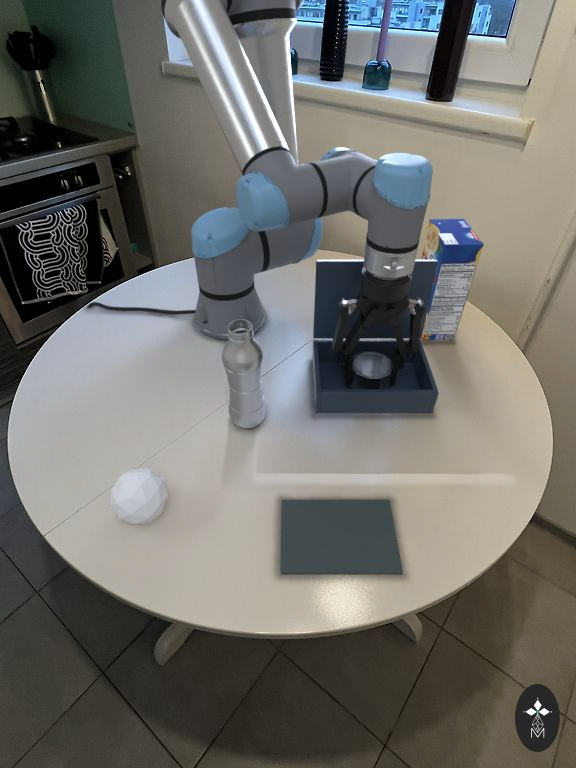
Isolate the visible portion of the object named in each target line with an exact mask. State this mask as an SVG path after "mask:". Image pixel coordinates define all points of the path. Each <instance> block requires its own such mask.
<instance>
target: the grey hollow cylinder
mask: <svg viewBox="0 0 576 768" xmlns="http://www.w3.org/2000/svg"><path fill="white" fill-rule="evenodd" d="M392 372H393V365H392V361H391V360H390V359H389V358H388V357H387V356H385V355H384V354H381V353H378V352H374V351H364V352H361V353H359V354H356V355H355V356H354V359H353V367H352V375H351V382H350V387H351V388H352V390H388V388H389V386H390V381H391V377H392Z"/></svg>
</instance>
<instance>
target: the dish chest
mask: <svg viewBox="0 0 576 768" xmlns="http://www.w3.org/2000/svg"><path fill="white" fill-rule="evenodd" d="M332 340H333V339H312V354H311V363H312V364H311V365H312V380H313V381H312V382H313V398H314V413H315V414H433V412H434V410H435V407H436V403H437V400H438V397H439V394H440V392H439V389H438V386H437V382H436V380H435V377H434V374H433V372H432V368H431V365H430V363H429V360H428V357H427V353H426V351H425V349H424V345H423V342H422V341H421V339H420V340H419V352H418V353H417V354H412V353H410V354H408V359H406V360H405V363H404V367H403V368H402V369H398V371H397V376H396V380H395V385H390V386H389V388H388V390H352V388H351V387H350V385H346V381H345V369H342V368H341V354H334V353H333V349H332ZM344 341H345V339H343V342H344ZM343 342H342V343H343ZM404 343H405V344H407V343H409V339H404ZM393 348H398V345H397V342H396V339H360V340H359V341H358V343H357V344H356V346H355V348H354V349H353V357H354V356H355V355H356V354H359V353H361V352H364V351H374V352H378V353H381V354H384V355H385V356H387V357H388V358H389V359H390V360H391V358H392V353H393Z"/></svg>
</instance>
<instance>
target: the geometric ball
mask: <svg viewBox="0 0 576 768" xmlns="http://www.w3.org/2000/svg"><path fill="white" fill-rule="evenodd" d="M168 497H169V492H168V486H167V484H166V481H165V480H164V478H163V477H162V476H161V475H159V474H158V473H157V472H155V471H154V470H152V469H151V468H149V467H145V468H144V467H143V468H142V467H141V468H130V469H129V470H127V471H125V472H124V473H123V474H122V475H120V476H119V477H118V478H117V479H116V480H115V482H114V484H113V485H112V487H111V489H110V501H109V506H110V508H111V510H112V511H113V512H114V513H115V515H116V516H117V518H118V519H119V520H120V521H123V522H125V523H127V524H129V525H148V524H150V522H152V521H153V520H154V519H156V518H157V517H159V516H160V515H161V514H163V511H164V509H165V507H166V503H167V500H168Z"/></svg>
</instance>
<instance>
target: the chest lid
mask: <svg viewBox="0 0 576 768" xmlns="http://www.w3.org/2000/svg"><path fill="white" fill-rule="evenodd" d="M363 261H364V259H316V260H315V275H314V301H313V303H314V305H313V325H312V326H313V329H312V339H333V336H334V333H335V329H336V325H337V321H338V317H339V314H340V305H339V300H340V299H341V298H345V299H346V301H347V300H353V299H356V297H357V295H358V294H359V292H360V285H361V277H362V269H363V267H364V265H363ZM437 264H438V261H437V260H421V259H416V260H415V265H414V269H413V271H412V280H411V284H410V289H409V294H408V299H412V300H416V299H417V298H422V300H423V303H424V305H425V308H426V309H425V311H424V313H423V315H422V317H421V326H420V339H421V338H422V334H423V329H424V324H425V320H426V315H427V310H428V306H429V301H430V296H431V292H432V287H433V282H434V278H435V273H436V268H437ZM359 314H360V311H359V309H358V308H357V307H356V308H354V309H353V312H352V314H351V315H349V320H348V324H347V328H346V331H345V335H344V339H346V338H347V336H348V334H349V333H350V331H351V329H352V328H353V326H354V324H355V323H356V321H357V320H358V318H359ZM397 318H398V322H399V325H400V329H401V332H402V336H403V339H409V332H410V311H409V307H408V308H407V309H406V310H404V311H403V312H402V313H401V314H400V315H399V316H398V317H397ZM360 339H396V338H395V335H394V332H393V328H392V325H391V322H390V323H382V322H379V323H371V325H370V327H369V328H368V329H366V330H365V332H364V334H363V335H362V337H361V338H360Z"/></svg>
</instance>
